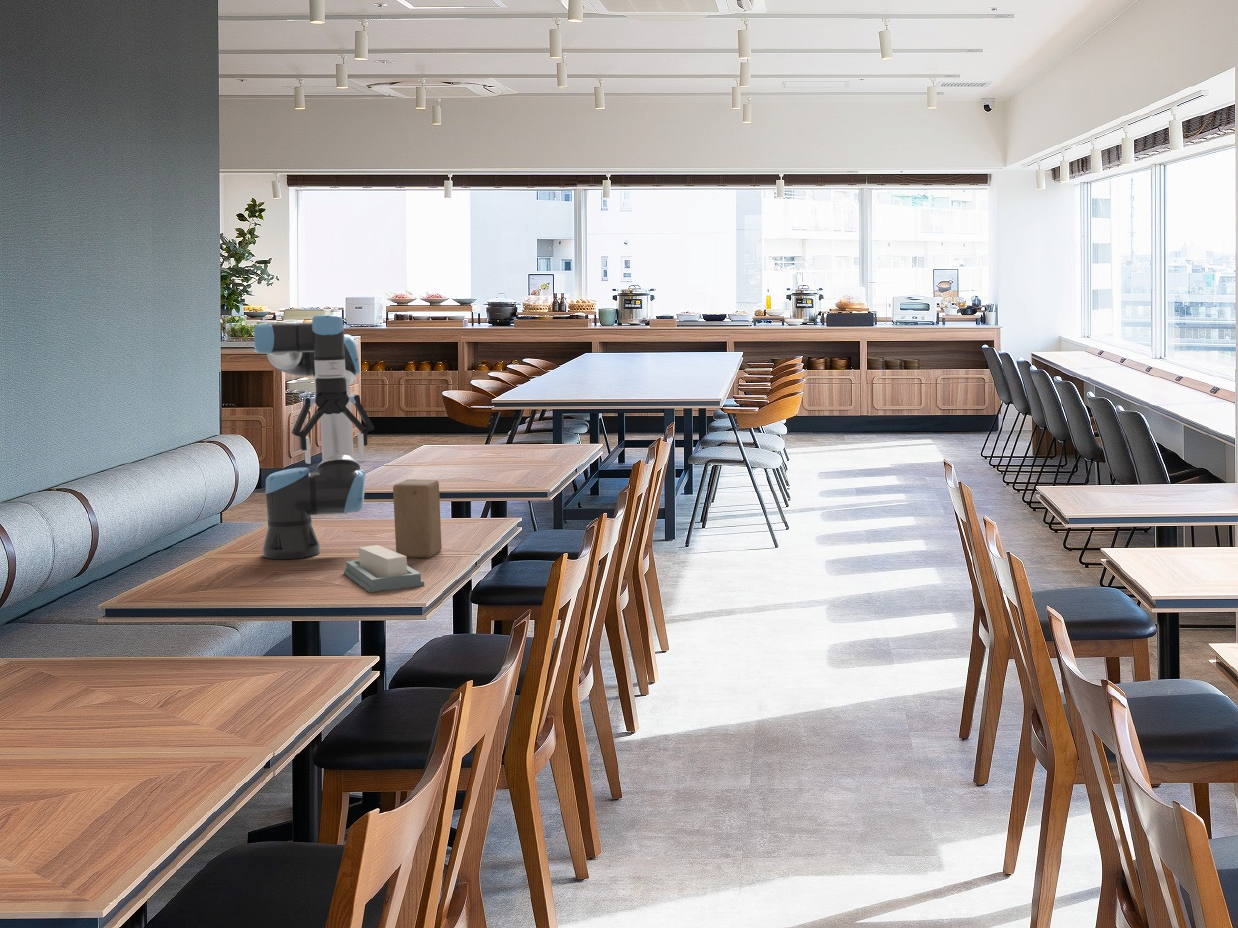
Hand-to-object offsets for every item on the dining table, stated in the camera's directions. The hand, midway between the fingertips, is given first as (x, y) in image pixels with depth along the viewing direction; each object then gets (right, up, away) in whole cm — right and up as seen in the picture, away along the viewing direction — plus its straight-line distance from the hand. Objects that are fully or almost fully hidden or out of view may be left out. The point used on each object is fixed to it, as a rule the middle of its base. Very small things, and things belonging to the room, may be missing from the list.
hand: (335, 461), depth 314 cm
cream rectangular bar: (+13, -28, -6) cm, 32 cm away
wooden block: (+18, -26, +23) cm, 39 cm away
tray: (+13, -29, -5) cm, 33 cm away
